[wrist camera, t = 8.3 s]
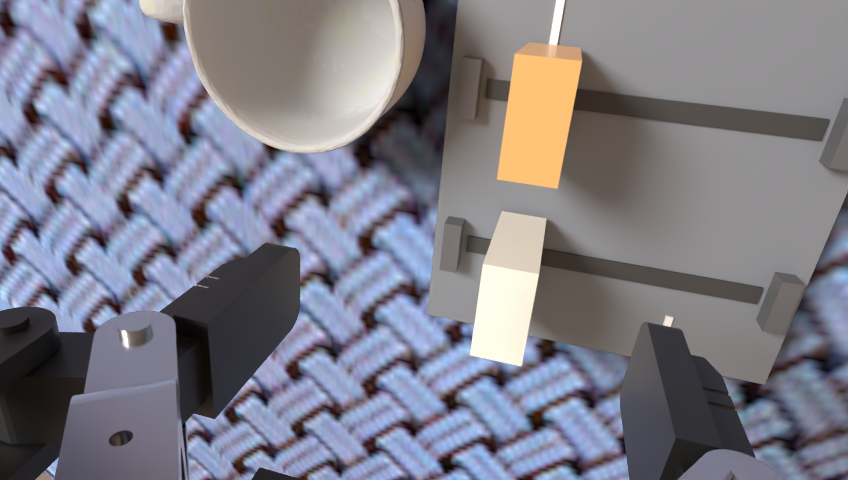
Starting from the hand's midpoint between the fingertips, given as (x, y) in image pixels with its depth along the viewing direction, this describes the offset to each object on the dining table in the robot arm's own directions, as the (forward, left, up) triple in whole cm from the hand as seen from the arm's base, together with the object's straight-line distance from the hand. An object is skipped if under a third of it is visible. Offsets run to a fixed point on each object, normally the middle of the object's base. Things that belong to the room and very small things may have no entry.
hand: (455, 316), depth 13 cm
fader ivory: (-1, +7, -18) cm, 19 cm away
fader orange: (-1, -2, -18) cm, 18 cm away
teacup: (+12, -5, -21) cm, 25 cm away
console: (-6, +2, -21) cm, 21 cm away
